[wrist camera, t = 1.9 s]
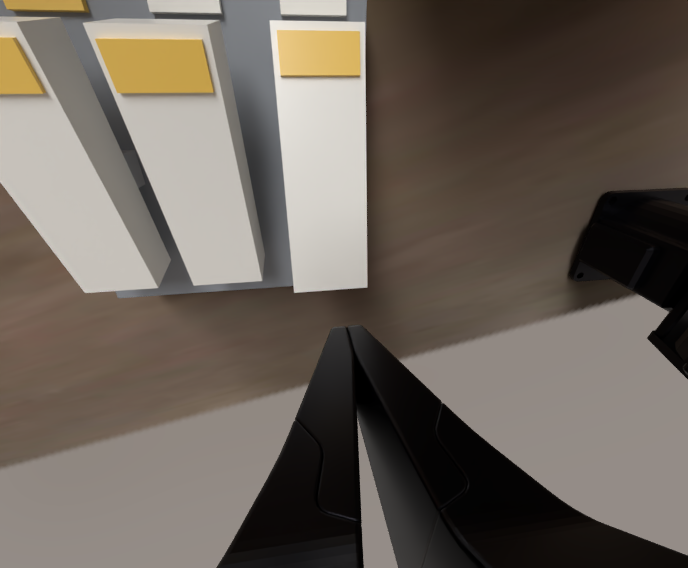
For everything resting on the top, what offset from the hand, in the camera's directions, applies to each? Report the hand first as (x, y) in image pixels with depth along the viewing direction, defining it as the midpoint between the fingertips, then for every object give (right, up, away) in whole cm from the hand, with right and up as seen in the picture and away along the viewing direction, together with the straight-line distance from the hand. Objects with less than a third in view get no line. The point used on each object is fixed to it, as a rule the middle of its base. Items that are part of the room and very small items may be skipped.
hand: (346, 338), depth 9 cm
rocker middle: (-5, +6, +3) cm, 8 cm away
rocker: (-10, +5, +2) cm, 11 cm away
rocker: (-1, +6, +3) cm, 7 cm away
